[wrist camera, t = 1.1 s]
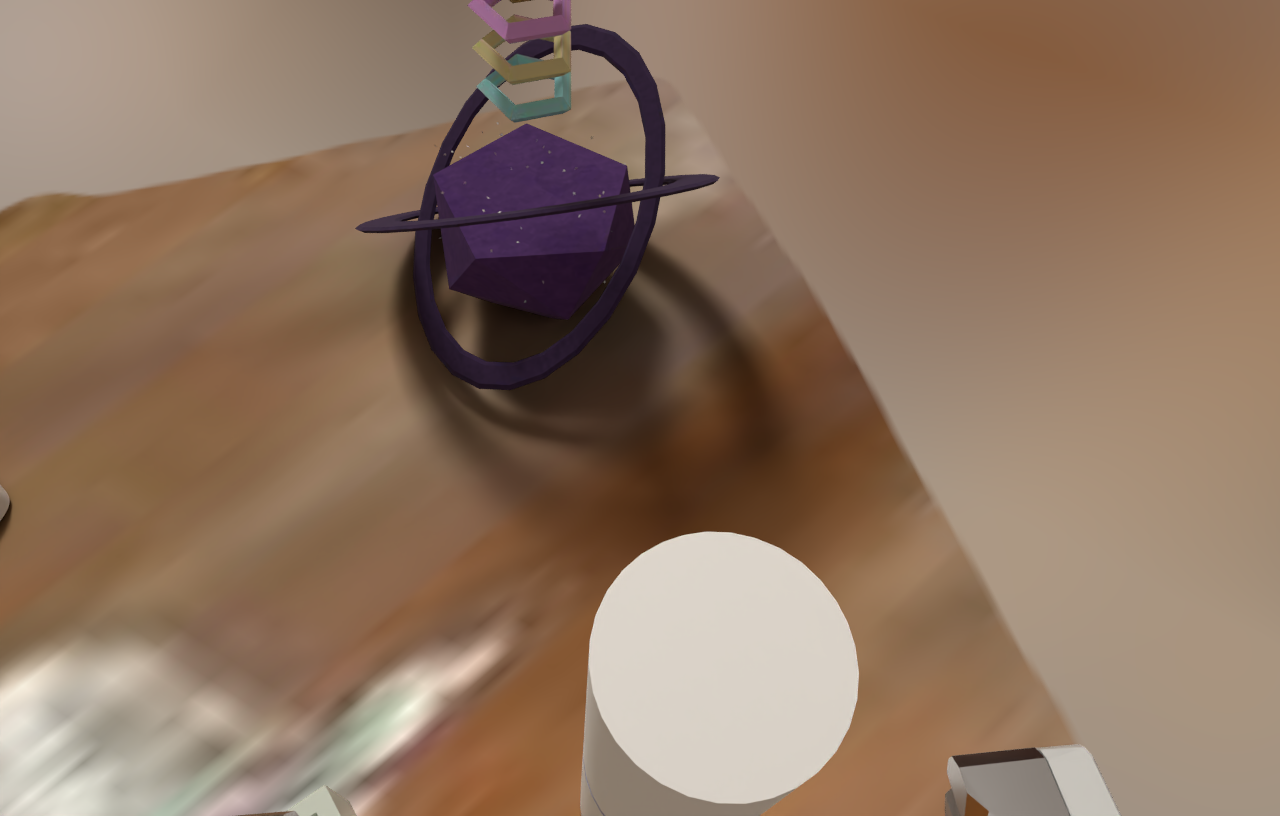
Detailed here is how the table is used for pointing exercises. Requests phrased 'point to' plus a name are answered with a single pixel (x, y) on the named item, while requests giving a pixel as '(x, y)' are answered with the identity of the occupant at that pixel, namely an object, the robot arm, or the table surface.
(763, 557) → the cylindrical container
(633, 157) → the table surface
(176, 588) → the table surface
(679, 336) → the table surface
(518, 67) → the decorative bottle
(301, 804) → the box
